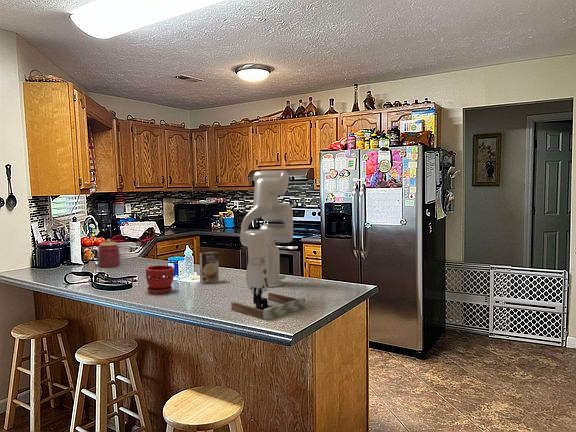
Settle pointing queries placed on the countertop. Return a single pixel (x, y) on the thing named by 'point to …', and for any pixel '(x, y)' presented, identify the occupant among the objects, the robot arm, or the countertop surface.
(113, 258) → the canister
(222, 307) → the countertop surface
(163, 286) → the plant pot
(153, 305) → the countertop surface
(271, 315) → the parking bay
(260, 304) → the black piece
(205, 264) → the coffee box
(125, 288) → the countertop surface
